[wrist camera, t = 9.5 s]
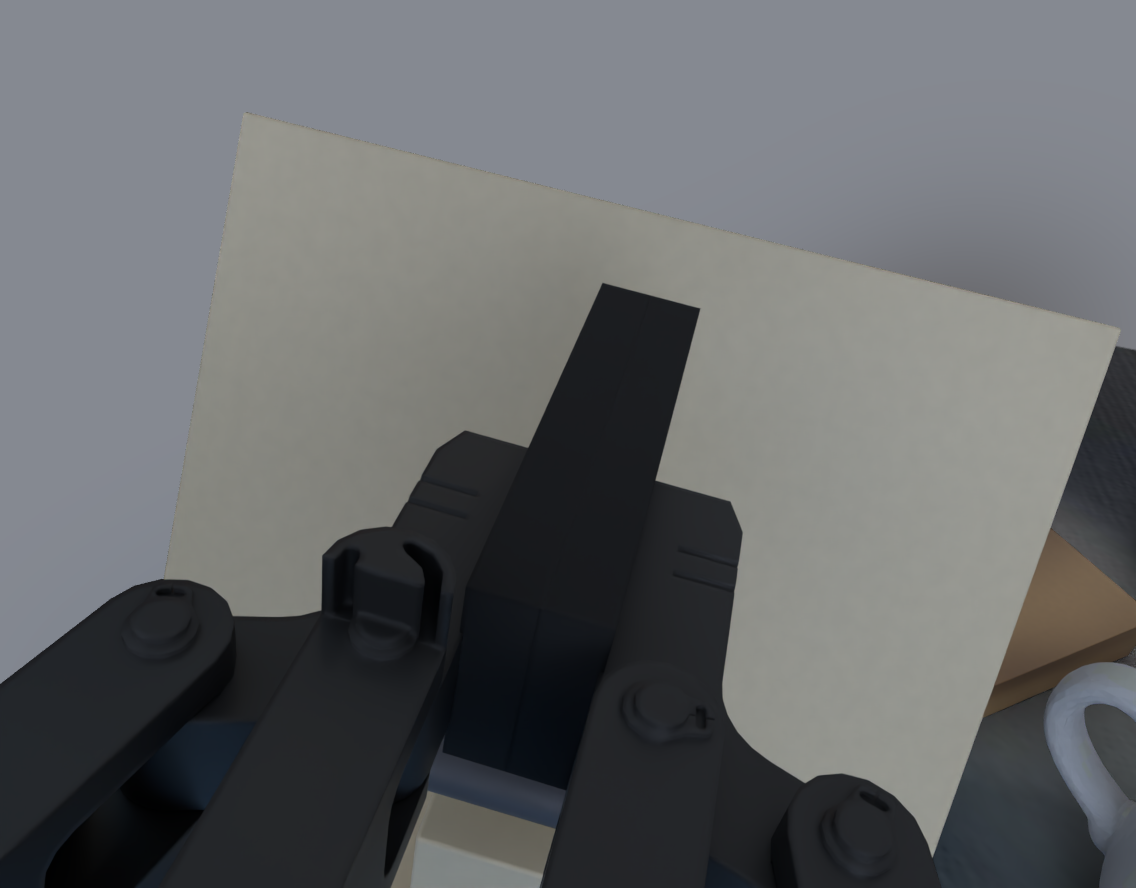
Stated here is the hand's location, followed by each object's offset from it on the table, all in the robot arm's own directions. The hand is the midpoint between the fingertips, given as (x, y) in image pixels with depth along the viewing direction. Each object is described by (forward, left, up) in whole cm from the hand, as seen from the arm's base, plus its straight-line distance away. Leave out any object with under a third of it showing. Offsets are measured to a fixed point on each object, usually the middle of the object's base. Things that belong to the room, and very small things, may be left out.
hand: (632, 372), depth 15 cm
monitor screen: (-1, +1, -11) cm, 11 cm away
